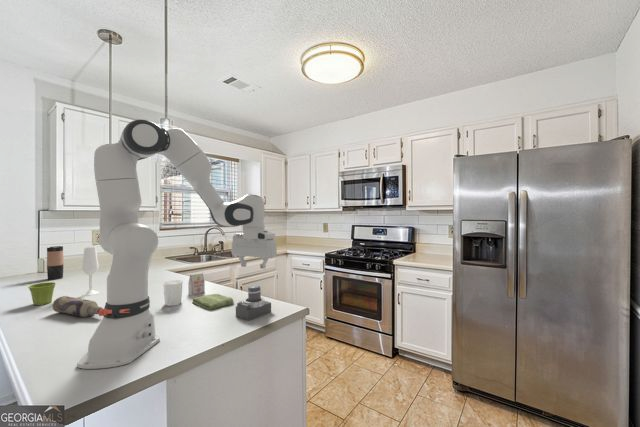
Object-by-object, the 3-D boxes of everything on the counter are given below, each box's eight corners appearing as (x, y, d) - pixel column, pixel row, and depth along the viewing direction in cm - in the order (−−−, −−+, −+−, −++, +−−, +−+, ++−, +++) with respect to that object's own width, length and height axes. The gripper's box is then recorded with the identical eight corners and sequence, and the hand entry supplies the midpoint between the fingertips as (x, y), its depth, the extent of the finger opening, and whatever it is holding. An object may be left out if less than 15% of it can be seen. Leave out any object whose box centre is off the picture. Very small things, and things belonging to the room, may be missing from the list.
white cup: (174, 307, 129) (174, 284, 129) (159, 305, 130) (159, 283, 130) (186, 301, 136) (186, 280, 136) (171, 300, 138) (171, 279, 138)
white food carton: (188, 294, 149) (188, 274, 149) (201, 291, 154) (201, 272, 154) (191, 295, 146) (191, 275, 146) (204, 292, 151) (204, 273, 151)
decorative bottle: (50, 314, 120) (50, 298, 120) (71, 308, 127) (71, 293, 127) (92, 322, 111) (92, 305, 111) (112, 316, 118) (112, 299, 118)
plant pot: (57, 303, 134) (57, 284, 134) (28, 308, 127) (28, 288, 127) (55, 299, 140) (55, 281, 140) (27, 303, 134) (27, 284, 133)
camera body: (248, 320, 113) (248, 305, 112) (235, 316, 118) (235, 300, 118) (271, 312, 122) (271, 297, 122) (258, 308, 127) (258, 294, 127)
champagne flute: (102, 292, 152) (101, 246, 152) (90, 295, 146) (90, 248, 145) (90, 291, 153) (90, 246, 153) (78, 295, 146) (78, 248, 146)
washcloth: (215, 297, 145) (215, 290, 145) (235, 304, 133) (235, 297, 133) (189, 303, 135) (189, 296, 135) (208, 312, 123) (208, 304, 123)
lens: (263, 303, 121) (263, 286, 121) (255, 307, 116) (254, 289, 116) (254, 301, 123) (253, 285, 123) (245, 305, 119) (245, 287, 119)
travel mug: (65, 278, 183) (65, 246, 183) (49, 280, 177) (49, 248, 176) (61, 276, 187) (60, 245, 187) (45, 279, 181) (44, 247, 181)
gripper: (228, 233, 120) (227, 266, 120) (270, 235, 113) (270, 270, 113) (237, 232, 126) (237, 264, 126) (278, 234, 119) (278, 268, 119)
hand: (253, 267), depth 119 cm, fingers open, 8 cm apart
